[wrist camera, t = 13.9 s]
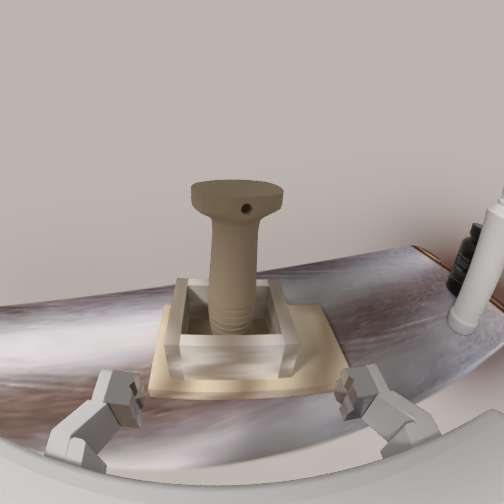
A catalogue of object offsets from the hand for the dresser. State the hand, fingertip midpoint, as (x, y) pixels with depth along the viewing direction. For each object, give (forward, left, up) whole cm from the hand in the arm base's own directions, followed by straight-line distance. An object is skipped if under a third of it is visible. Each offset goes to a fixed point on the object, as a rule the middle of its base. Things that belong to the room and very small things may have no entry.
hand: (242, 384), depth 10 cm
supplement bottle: (+40, +21, -12) cm, 47 cm away
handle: (0, +13, -11) cm, 17 cm away
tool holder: (+2, +13, -12) cm, 18 cm away
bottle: (+32, +13, -12) cm, 37 cm away
